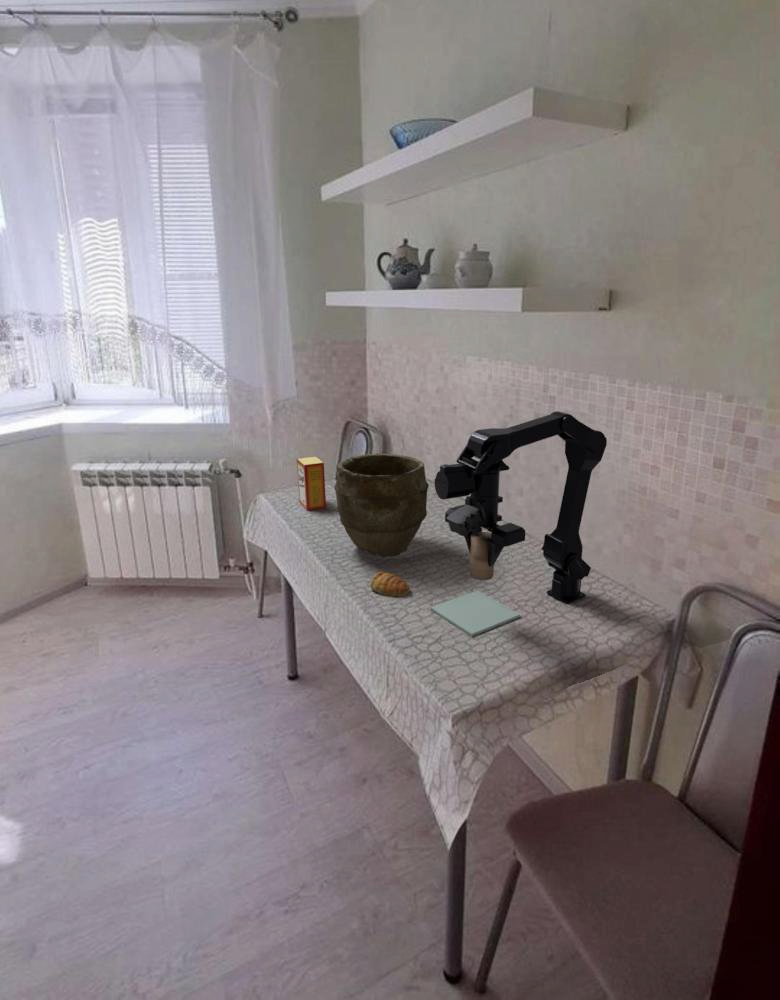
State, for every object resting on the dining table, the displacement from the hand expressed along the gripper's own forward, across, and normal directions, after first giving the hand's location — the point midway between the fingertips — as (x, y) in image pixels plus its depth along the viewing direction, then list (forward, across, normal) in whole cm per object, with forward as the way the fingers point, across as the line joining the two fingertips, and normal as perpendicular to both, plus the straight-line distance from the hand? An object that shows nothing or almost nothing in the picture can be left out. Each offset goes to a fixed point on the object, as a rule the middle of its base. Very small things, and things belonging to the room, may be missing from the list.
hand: (482, 561), depth 131 cm
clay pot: (+13, -45, +5) cm, 47 cm away
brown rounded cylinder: (+3, 0, 0) cm, 3 cm away
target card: (+13, -2, 0) cm, 13 cm away
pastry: (+14, -23, -8) cm, 28 cm away
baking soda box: (+13, -90, +7) cm, 91 cm away
